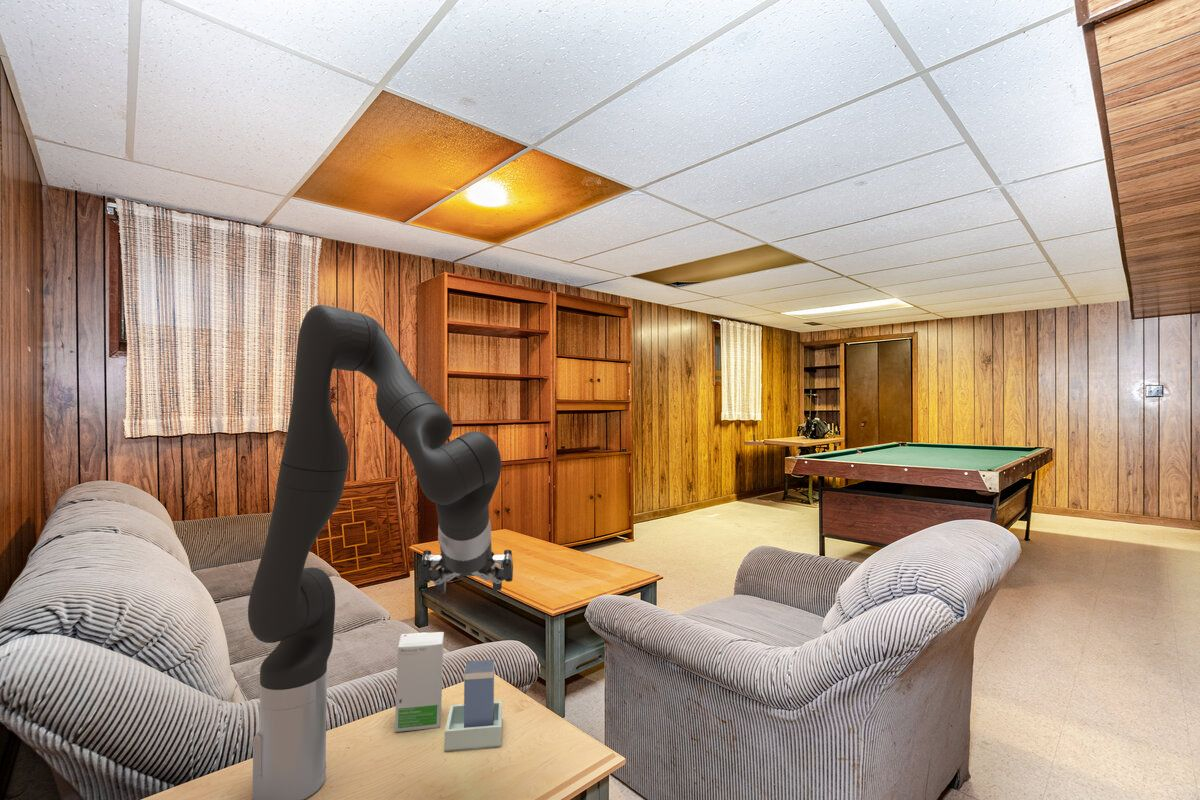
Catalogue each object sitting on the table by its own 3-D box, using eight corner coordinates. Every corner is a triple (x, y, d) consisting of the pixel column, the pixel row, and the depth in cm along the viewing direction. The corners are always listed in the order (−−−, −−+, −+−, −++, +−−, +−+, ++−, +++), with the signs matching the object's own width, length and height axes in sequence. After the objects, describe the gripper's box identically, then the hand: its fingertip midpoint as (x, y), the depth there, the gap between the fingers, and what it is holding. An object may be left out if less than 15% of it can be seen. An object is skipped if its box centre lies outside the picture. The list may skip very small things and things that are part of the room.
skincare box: (394, 733, 100) (394, 647, 100) (398, 714, 106) (399, 633, 106) (441, 727, 102) (442, 643, 102) (443, 708, 108) (444, 629, 108)
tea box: (463, 742, 96) (464, 674, 97) (466, 726, 101) (466, 661, 102) (492, 740, 97) (493, 672, 97) (493, 724, 102) (494, 659, 102)
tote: (444, 752, 94) (444, 731, 94) (450, 723, 103) (450, 705, 103) (501, 746, 96) (501, 726, 96) (502, 719, 104) (502, 700, 104)
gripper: (514, 515, 85) (513, 567, 96) (419, 515, 83) (429, 568, 94) (513, 559, 79) (511, 609, 91) (411, 560, 77) (422, 611, 89)
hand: (469, 588), depth 92 cm, fingers open, 8 cm apart
